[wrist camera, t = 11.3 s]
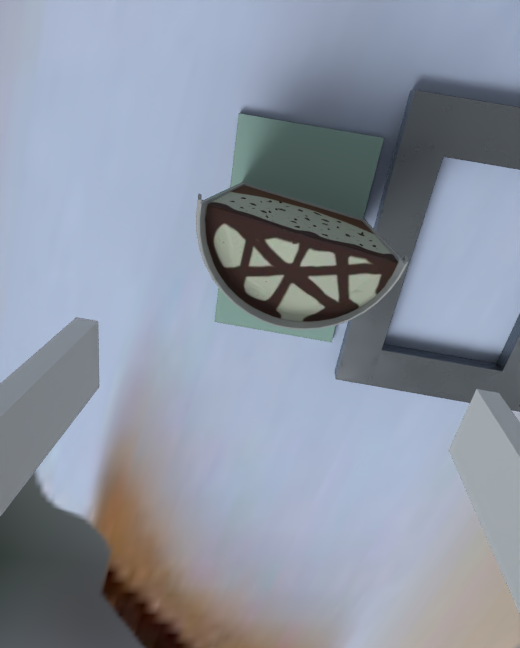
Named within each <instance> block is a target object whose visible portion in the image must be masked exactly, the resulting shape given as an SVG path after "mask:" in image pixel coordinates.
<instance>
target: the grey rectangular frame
mask: <svg viewBox="0 0 520 648" xmlns="http://www.w3.org/2000/svg"><path fill="white" fill-rule="evenodd" d="M443 157H448V158H454V159H460V160H466V161H472V162H478V163H484V164H490V165H496V166H502V167H507V168H513V169H519V170H520V107H514V106H508V105H502V104H496V103H490V102H484V101H478V100H472V99H466V98H460V97H454V96H448V95H442V94H436V93H430V92H424V91H418V90H413V91H411V92H410V95H409V99H408V103H407V106H406V110H405V114H404V118H403V121H402V125H401V129H400V132H399V136H398V140H397V143H396V147H395V151H394V155H393V158H392V162H391V166H390V169H389V173H388V177H387V180H386V184H385V188H384V191H383V195H382V199H381V203H380V206H379V210H378V214H377V217H376V221H375V225H374V228H373V229H374V230H375V231H376V232H377V233H378V234H379V235H380V236H381V237H382V238H383V239H384V241H385V242H386V243H387V244H388V245H389V246H390V247H391V248H392V249H393V250H394V251H395V252H396V253H397V254H398V255H399V256H400V258H401V259H402V260H403V258H404V256H407V257H408V264H407V266H406V268H405V270H404V272H403V273H402V275H401V277H400V278H399V280H398V281H397V282H396V283H395V285H394V286H393V287H392V289H391V290H390V291H389V292H388V293H387V294H386V295H385V296H384V297H383V298H382V299H381V300H380V301H379V302H378V303H377V304H375V305H374V306H373V307H371V308H370V309H369V310H367V311H366V312H364V313H363V314H361V315H359V316H357V317H355V318H353V319H351V320H349V321H348V324H347V328H346V332H345V336H344V339H343V343H342V347H341V350H340V354H339V358H338V361H337V365H336V369H335V378H336V379H338V380H343V381H349V382H355V383H360V384H366V385H372V386H377V387H383V388H389V389H394V390H400V391H406V392H411V393H417V394H423V395H428V396H434V397H440V398H445V399H451V400H457V401H462V402H468V403H470V402H471V400H472V398H473V396H474V393H475V391H476V389H480V390H485V391H491V392H496V393H499V394H500V395H501V397H502V398H503V399H504V401H505V402H506V404H507V405H508V406H509V408H510V409H511V410H513V411H519V412H520V315H519V317H518V319H517V321H516V323H515V325H514V328H513V330H512V332H511V334H510V336H509V338H508V340H507V343H506V345H505V347H504V349H503V351H502V353H501V356H500V358H499V360H498V362H497V364H495V363H489V362H484V361H478V360H472V359H466V358H461V357H455V356H449V355H444V354H438V353H432V352H426V351H421V350H415V349H409V348H404V347H398V346H392V345H387V344H384V341H385V338H386V335H387V332H388V328H389V325H390V322H391V319H392V316H393V313H394V310H395V306H396V303H397V300H398V297H399V294H400V291H401V288H402V285H403V281H404V278H405V275H406V272H407V269H408V266H409V263H410V260H411V256H412V253H413V250H414V247H415V244H416V241H417V238H418V235H419V231H420V228H421V225H422V222H423V219H424V216H425V213H426V210H427V206H428V203H429V200H430V197H431V194H432V191H433V188H434V185H435V181H436V178H437V175H438V172H439V169H440V166H441V163H442V159H443Z"/></svg>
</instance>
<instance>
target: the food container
mask: <svg viewBox="0 0 520 648" xmlns="http://www.w3.org/2000/svg"><path fill="white" fill-rule="evenodd" d="M196 232H197V238H198V243H199V249H200V252H201V255H202V258H203V261H204V264H205V266H206V268H207V270H208V272H209V273H210V275H211V277H212V279H213V280H214V282H215V283H216V285H217V286H218V287H219V289H220V290H221V291H222V292H223V293H224V294H225V295H226V296H227V298H228V299H229V300H230V301H231V302H232V303H234V304H235V305H236V306H238V307H239V308H240V309H242V310H243V311H244V312H246V313H247V314H249V315H251V316H253V317H255V318H257V319H258V320H260V321H263V322H266V323H269V324H271V325H274V326H278V327H283V328H288V329H298V330H311V329H322V328H326V327H331V326H336V325H338V324H341V323H344V322H347V321H349V320H351V319H353V318H355V317H357V316H359V315H361V314H363V313H364V312H366V311H367V310H369V309H370V308H371V307H373V306H374V305H375V304H377V303H378V302H379V301H380V300H381V299H382V298H383V297H384V296H385V295H386V294H387V293H388V292H389V291H390V290H391V289H392V287H393V286H394V285H395V283H396V282H397V281H398V280H399V278H400V277H401V275H402V273H403V272H404V270H405V268H406V266H407V264H408V257H407V256H404V258H403V260H402V259H401V258H400V256H399V255H398V254H397V253H396V252H395V251H394V250H393V249H392V248H391V247H390V246H389V245H388V244H387V243H386V242H385V241H384V239H383V238H382V237H381V236H380V235H379V234H378V233H377V232H376V231H375V230H374V229H373V228H372V227H371V226H370V225H369V224H368V222H367V221H366V220H365V219H362V218H359V217H356V216H352V215H349V214H346V213H342V212H339V211H336V210H333V209H329V208H326V207H323V206H319V205H316V204H313V203H309V202H306V201H303V200H300V199H296V198H293V197H290V196H286V195H283V194H280V193H277V192H273V191H270V190H267V189H263V188H260V187H257V186H253V185H250V184H247V183H244V182H241V183H239V184H237V185H235V186H233V187H231V188H229V189H226V190H224V191H222V192H220V193H218V194H216V195H214V196H212V197H210V198H207V199H205V200H201V194H198V203H197V212H196Z"/></svg>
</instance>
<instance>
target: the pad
mask: <svg viewBox="0 0 520 648" xmlns="http://www.w3.org/2000/svg"><path fill="white" fill-rule="evenodd" d="M383 140H384V138H382V137H376V136H370V135H364V134H358V133H352V132H346V131H340V130H334V129H329V128H323V127H317V126H311V125H305V124H299V123H293V122H287V121H281V120H275V119H269V118H263V117H258V116H252V115H246V114H240V113H239V116H238V125H237V133H236V142H235V150H234V159H233V168H232V176H231V185H230V188H231V187H233V186H235V185H237V184H239V183H241V182H244V183H247V184H250V185H253V186H257V187H260V188H263V189H267V190H270V191H273V192H277V193H280V194H283V195H286V196H290V197H293V198H296V199H300V200H303V201H306V202H309V203H313V204H316V205H319V206H323V207H326V208H329V209H333V210H336V211H339V212H342V213H346V214H349V215H352V216H356V217H359V218H362V219H363V218H364V214H365V210H366V206H367V202H368V198H369V194H370V190H371V186H372V183H373V179H374V175H375V171H376V167H377V163H378V159H379V155H380V151H381V148H382V144H383ZM215 322H218V323H224V324H230V325H235V326H241V327H247V328H252V329H258V330H264V331H270V332H275V333H281V334H287V335H292V336H298V337H304V338H309V339H315V340H321V341H327V342H332V338H333V334H334V330H335V326H331V327H326V328H322V329H311V330H298V329H288V328H283V327H278V326H274V325H271V324H269V323H266V322H263V321H260V320H258V319H257V318H255V317H253V316H251V315H249V314H247V313H246V312H244V311H243V310H242V309H240V308H239V307H238V306H236V305H235V304H234V303H232V302H231V301H230V300H229V299H228V298H227V296H226V295H225V294H224V293H223V292H222V291H221V290H220V289H219V288H218V297H217V306H216V314H215Z"/></svg>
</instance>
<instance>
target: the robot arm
mask: <svg viewBox="0 0 520 648" xmlns="http://www.w3.org/2000/svg"><path fill="white" fill-rule="evenodd" d="M98 388H99V339H98V321H95V320H89V319H84V318H78V317H76V318H75V319H74V320H73V321H72V322H70V323H69V324H68V325H67V326H66V327H65V328H64V329H62V330H61V331H60V332H59V333H58V334H57V335H56V336H54V337H53V338H52V339H51V340H50V341H49V342H47V343H46V344H45V345H44V346H43V347H42V348H41V349H39V350H38V351H37V352H36V353H35V354H34V355H33V356H31V357H30V358H29V359H28V360H27V361H26V362H25V363H23V364H22V365H21V366H20V367H19V368H18V369H17V370H15V371H14V372H13V373H12V374H11V375H10V376H8V377H7V378H6V379H5V380H4V381H3V382H2V383H0V516H1V515H2V514H3V512H4V511H5V510H6V508H7V507H8V506H9V504H10V503H11V502H12V500H13V499H14V498H15V497H16V495H17V494H18V493H19V491H20V490H21V489H22V487H23V486H24V485H25V483H26V482H27V481H28V479H29V478H30V477H31V476H32V474H33V473H34V472H35V470H36V469H37V468H38V466H39V465H40V464H41V463H42V461H43V460H44V459H45V457H46V456H47V455H48V453H49V452H50V451H51V449H52V448H53V447H54V446H55V444H56V443H57V442H58V440H59V439H60V438H61V436H62V435H63V434H64V432H65V431H66V430H67V429H68V427H69V426H70V425H71V423H72V422H73V421H74V419H75V418H76V417H77V415H78V414H79V413H80V412H81V410H82V409H83V408H84V406H85V405H86V404H87V402H88V401H89V400H90V398H91V397H92V396H93V395H94V393H95V392H96V391H97V389H98ZM449 452H450V455H451V457H452V459H453V462H454V464H455V466H456V468H457V471H458V473H459V475H460V478H461V480H462V482H463V485H464V487H465V489H466V491H467V494H468V496H469V498H470V501H471V503H472V505H473V508H474V510H475V512H476V515H477V517H478V519H479V521H480V524H481V526H482V528H483V531H484V533H485V535H486V538H487V540H488V542H489V544H490V547H491V549H492V551H493V554H494V556H495V558H496V561H497V563H498V565H499V567H500V570H501V572H502V574H503V577H504V579H505V581H506V584H507V586H508V588H509V591H510V593H511V595H512V597H513V600H514V602H515V604H516V607H517V609H518V611H519V614H520V422H519V421H518V419H517V418H516V416H515V415H514V413H513V412H512V411H511V409H510V408H509V406H508V405H507V404H506V402H505V401H504V399H503V398H502V397H501V395H500V394H499V393H496V392H491V391H485V390H480V389H476V391H475V393H474V396H473V398H472V400H471V402H470V404H469V407H468V409H467V411H466V413H465V416H464V418H463V420H462V422H461V424H460V427H459V429H458V431H457V433H456V435H455V438H454V440H453V442H452V444H451V446H450V449H449Z"/></svg>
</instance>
